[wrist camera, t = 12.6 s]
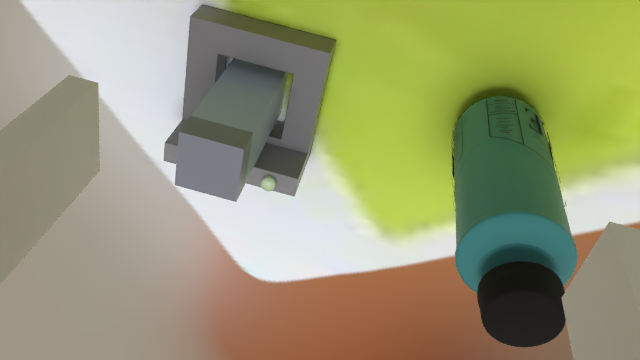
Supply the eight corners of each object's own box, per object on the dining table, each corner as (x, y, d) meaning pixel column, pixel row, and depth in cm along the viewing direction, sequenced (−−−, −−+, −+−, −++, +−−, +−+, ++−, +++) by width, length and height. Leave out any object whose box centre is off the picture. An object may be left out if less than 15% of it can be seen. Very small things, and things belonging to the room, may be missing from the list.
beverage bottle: (434, 130, 46) (423, 327, 30) (493, 64, 43) (516, 248, 26) (501, 175, 47) (526, 389, 31) (564, 114, 44) (630, 321, 28)
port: (202, 4, 44) (167, 38, 39) (336, 40, 44) (319, 78, 38) (192, 121, 50) (160, 165, 45) (310, 153, 50) (292, 201, 44)
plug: (237, 53, 46) (178, 131, 36) (289, 66, 46) (244, 149, 36) (231, 99, 48) (174, 184, 38) (280, 112, 48) (236, 201, 38)
